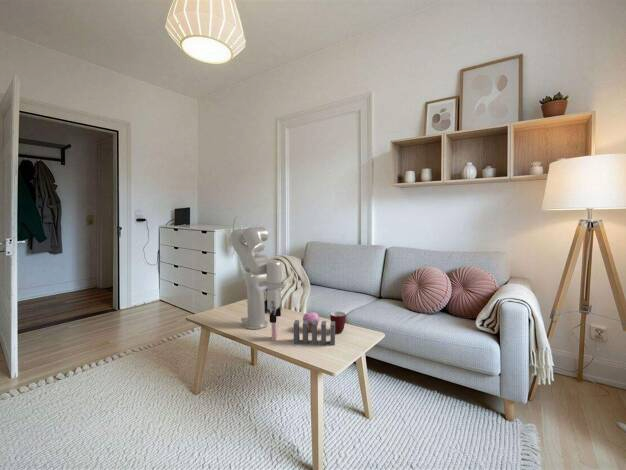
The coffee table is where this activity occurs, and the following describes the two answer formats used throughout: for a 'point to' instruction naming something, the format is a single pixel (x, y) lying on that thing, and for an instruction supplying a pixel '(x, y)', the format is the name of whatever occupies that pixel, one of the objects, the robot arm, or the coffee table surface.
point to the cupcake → (311, 319)
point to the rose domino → (275, 330)
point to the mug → (338, 321)
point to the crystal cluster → (267, 309)
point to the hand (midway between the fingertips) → (275, 319)
